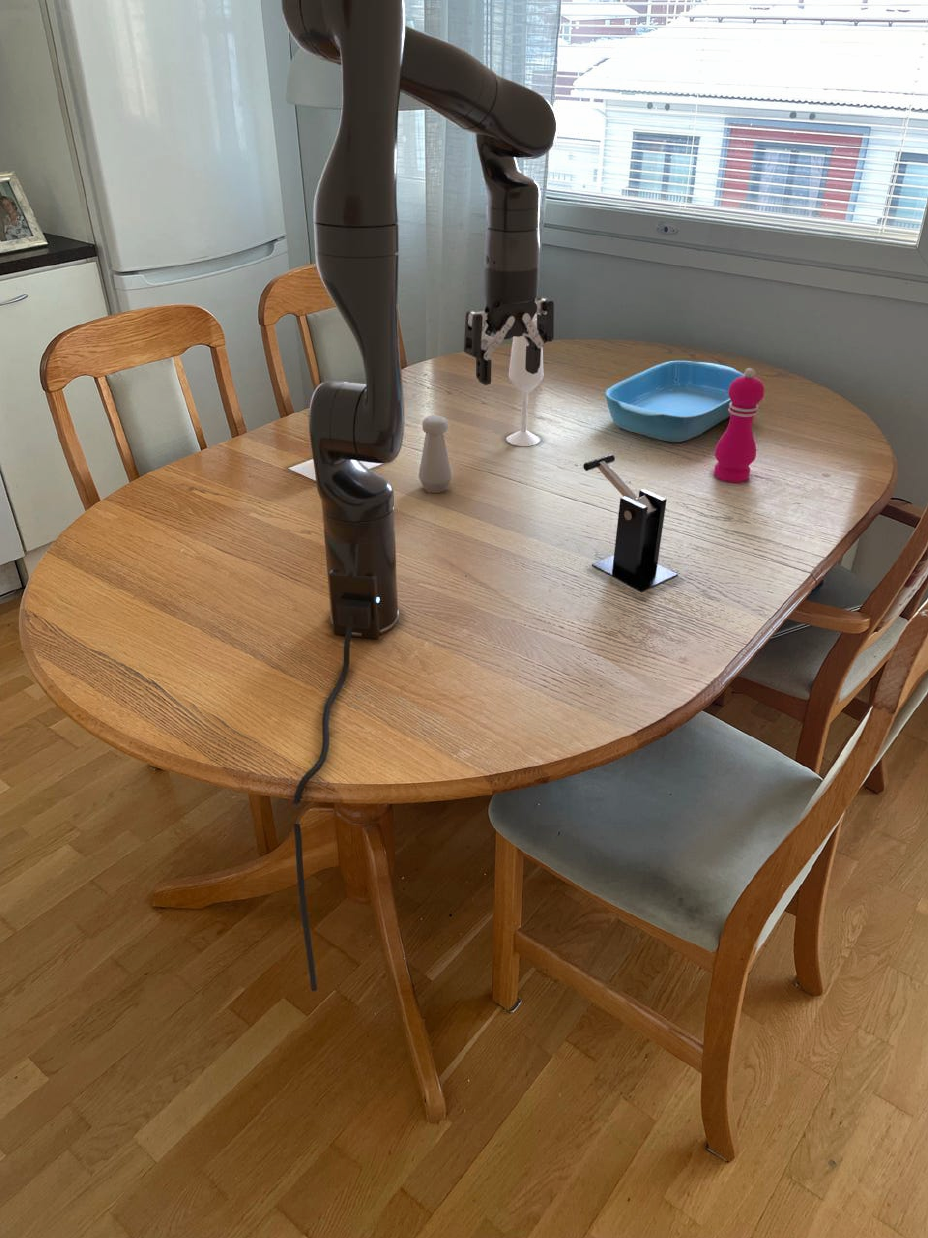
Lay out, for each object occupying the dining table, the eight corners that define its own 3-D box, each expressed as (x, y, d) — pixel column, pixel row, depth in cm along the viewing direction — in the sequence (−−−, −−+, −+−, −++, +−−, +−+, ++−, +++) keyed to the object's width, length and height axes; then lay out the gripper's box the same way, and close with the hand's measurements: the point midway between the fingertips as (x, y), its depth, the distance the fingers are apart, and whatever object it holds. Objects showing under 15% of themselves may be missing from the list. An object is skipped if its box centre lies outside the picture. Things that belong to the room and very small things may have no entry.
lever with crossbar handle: (580, 469, 135) (586, 458, 134) (606, 460, 138) (612, 449, 136) (631, 527, 131) (638, 516, 129) (657, 516, 134) (664, 505, 132)
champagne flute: (545, 443, 182) (553, 319, 169) (514, 447, 179) (519, 323, 166) (531, 431, 187) (537, 310, 174) (500, 435, 185) (504, 313, 172)
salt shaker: (447, 496, 161) (447, 425, 154) (415, 493, 162) (414, 422, 155) (454, 482, 166) (454, 413, 158) (423, 479, 166) (422, 410, 159)
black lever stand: (591, 571, 139) (598, 493, 132) (627, 555, 143) (636, 479, 136) (640, 598, 133) (651, 518, 126) (677, 581, 137) (689, 503, 130)
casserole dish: (681, 457, 176) (686, 421, 172) (584, 429, 188) (586, 395, 184) (764, 407, 200) (770, 374, 196) (672, 384, 212) (677, 353, 208)
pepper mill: (706, 478, 168) (724, 370, 157) (716, 464, 173) (734, 359, 163) (746, 486, 165) (767, 377, 154) (755, 472, 171) (776, 365, 160)
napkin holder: (327, 486, 164) (325, 456, 161) (287, 468, 170) (284, 439, 167) (388, 461, 173) (387, 432, 170) (347, 445, 180) (345, 417, 177)
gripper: (485, 274, 120) (483, 395, 129) (569, 260, 126) (562, 375, 136) (453, 263, 125) (453, 379, 134) (536, 250, 132) (531, 361, 141)
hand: (508, 377), depth 135 cm, fingers open, 8 cm apart
